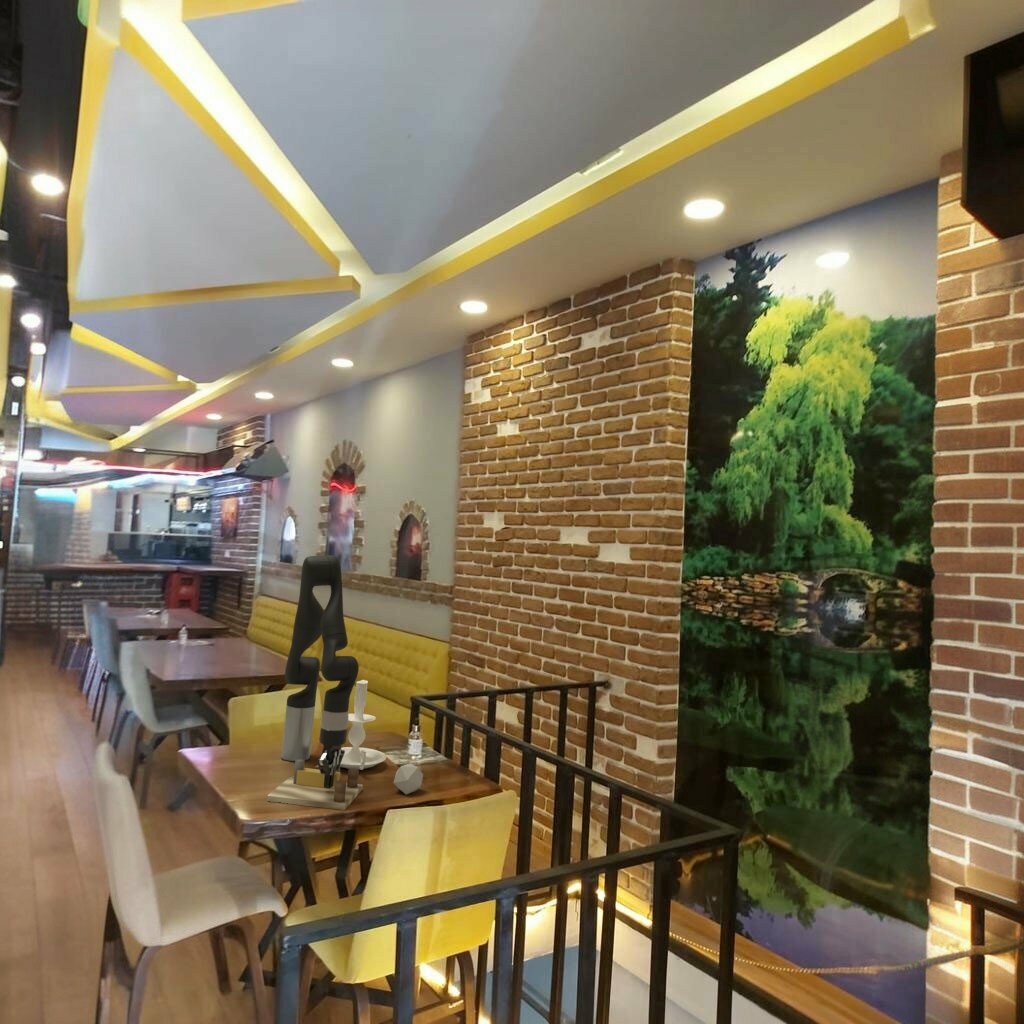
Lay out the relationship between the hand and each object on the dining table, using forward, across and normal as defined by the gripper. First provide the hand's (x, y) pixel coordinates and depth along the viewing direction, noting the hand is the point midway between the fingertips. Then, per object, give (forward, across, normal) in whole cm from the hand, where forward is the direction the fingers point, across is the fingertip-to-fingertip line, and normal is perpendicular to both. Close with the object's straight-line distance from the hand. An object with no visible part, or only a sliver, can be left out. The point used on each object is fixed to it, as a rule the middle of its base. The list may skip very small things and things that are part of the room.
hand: (328, 787), depth 215 cm
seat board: (+3, 0, -3) cm, 4 cm away
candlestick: (+3, -30, -6) cm, 30 cm away
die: (+3, -16, +18) cm, 24 cm away
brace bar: (+1, -3, -6) cm, 7 cm away
